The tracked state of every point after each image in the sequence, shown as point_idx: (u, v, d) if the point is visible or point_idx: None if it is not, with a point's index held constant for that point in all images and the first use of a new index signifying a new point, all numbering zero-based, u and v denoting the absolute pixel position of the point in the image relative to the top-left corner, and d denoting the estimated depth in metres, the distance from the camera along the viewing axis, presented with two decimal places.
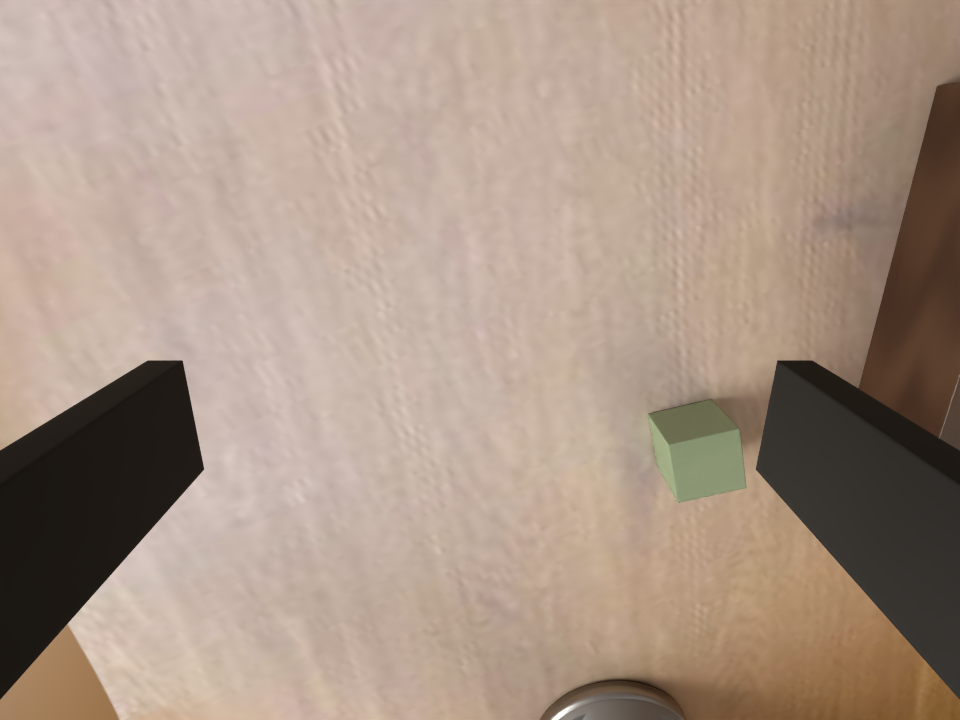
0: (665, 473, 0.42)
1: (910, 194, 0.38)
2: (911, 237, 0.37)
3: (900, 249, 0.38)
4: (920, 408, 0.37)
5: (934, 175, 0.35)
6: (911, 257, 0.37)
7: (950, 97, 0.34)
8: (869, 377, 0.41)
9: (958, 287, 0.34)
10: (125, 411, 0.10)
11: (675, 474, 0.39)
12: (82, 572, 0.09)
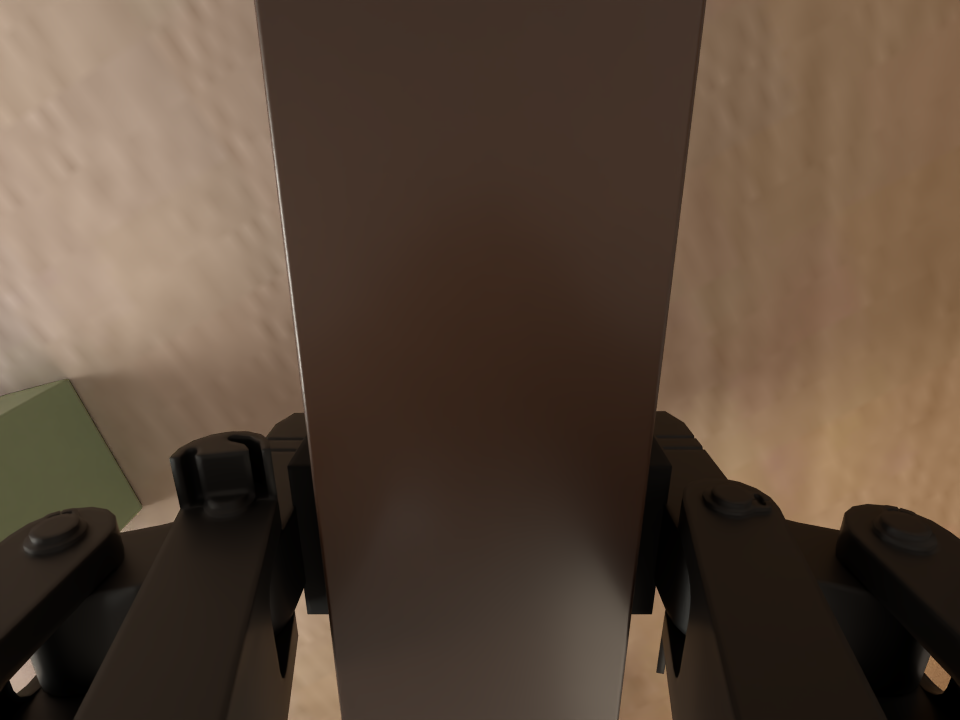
0: None
1: None
2: None
3: None
4: None
5: None
6: None
7: None
8: None
9: None
10: None
11: None
12: None
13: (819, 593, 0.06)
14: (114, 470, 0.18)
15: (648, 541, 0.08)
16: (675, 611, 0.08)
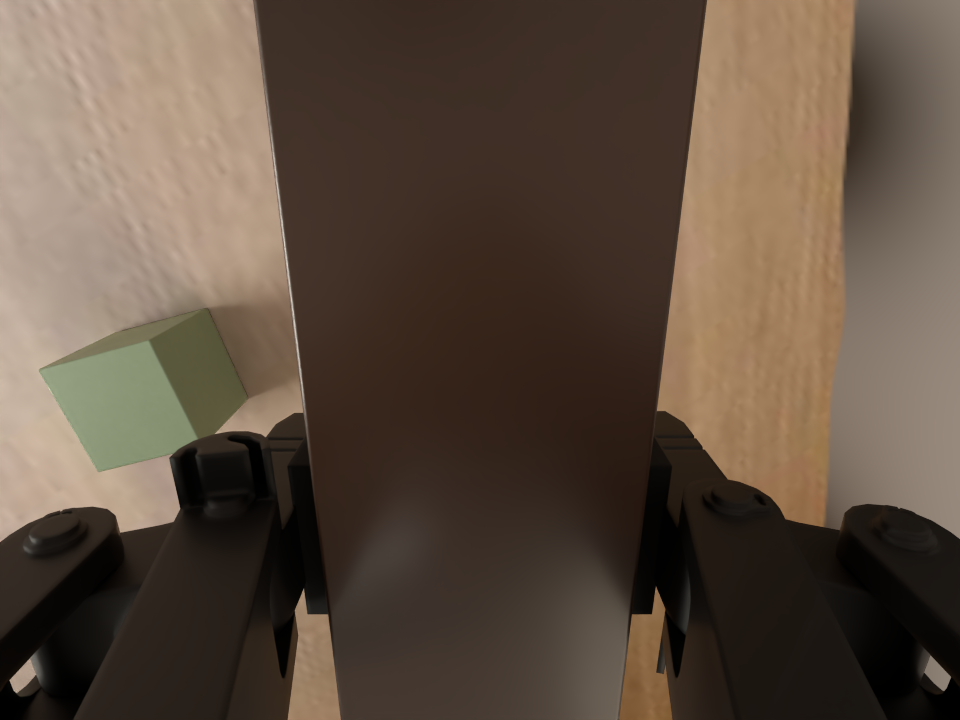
0: None
1: None
2: None
3: None
4: None
5: None
6: None
7: None
8: None
9: None
10: None
11: (72, 423, 0.23)
12: None
13: (819, 595, 0.06)
14: (233, 370, 0.27)
15: (648, 541, 0.08)
16: (675, 611, 0.08)
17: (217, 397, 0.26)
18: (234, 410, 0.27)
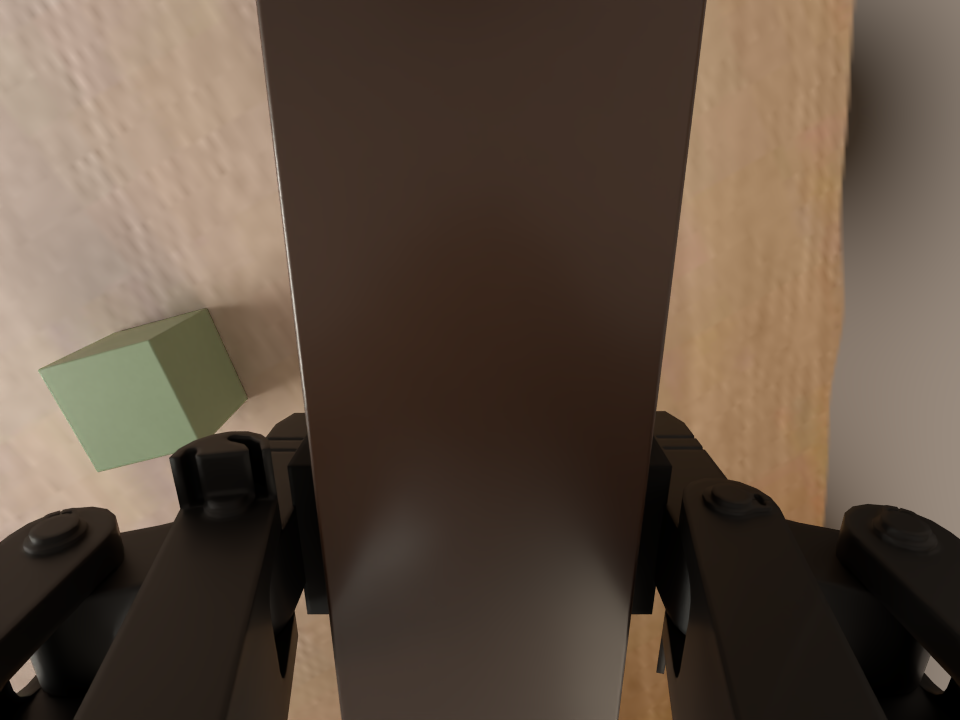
0: None
1: None
2: None
3: None
4: None
5: None
6: None
7: None
8: None
9: None
10: None
11: (71, 423, 0.23)
12: None
13: (819, 594, 0.06)
14: (232, 370, 0.27)
15: (648, 541, 0.08)
16: (675, 611, 0.08)
17: (217, 397, 0.26)
18: (234, 410, 0.27)
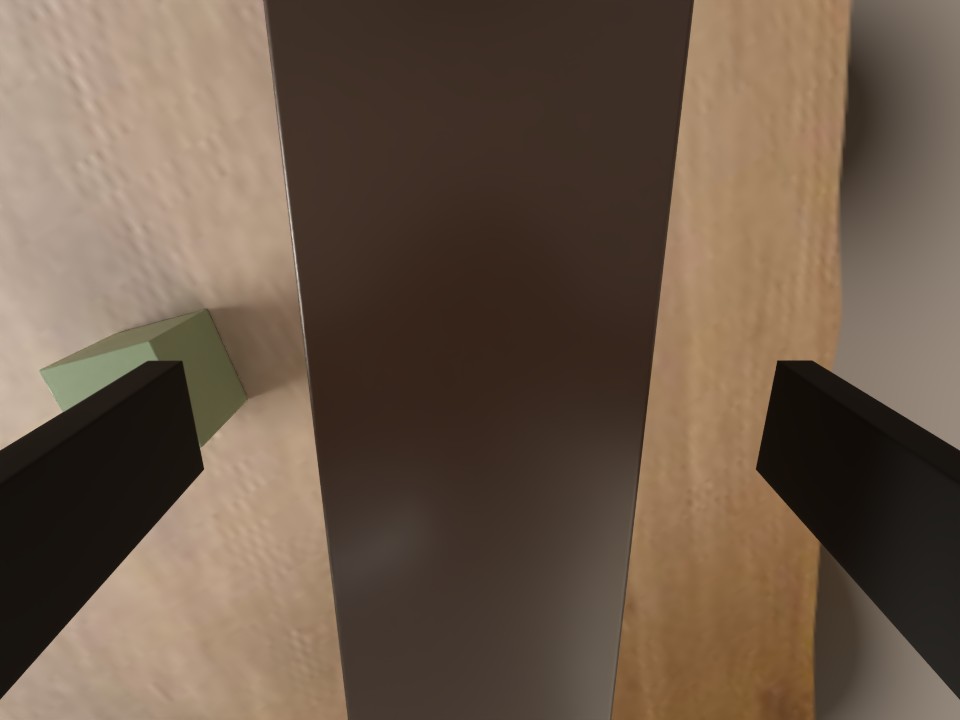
0: None
1: None
2: None
3: None
4: None
5: None
6: None
7: None
8: None
9: None
10: (125, 411, 0.10)
11: None
12: (82, 572, 0.09)
13: None
14: (232, 371, 0.28)
15: None
16: None
17: (217, 398, 0.26)
18: (234, 411, 0.27)
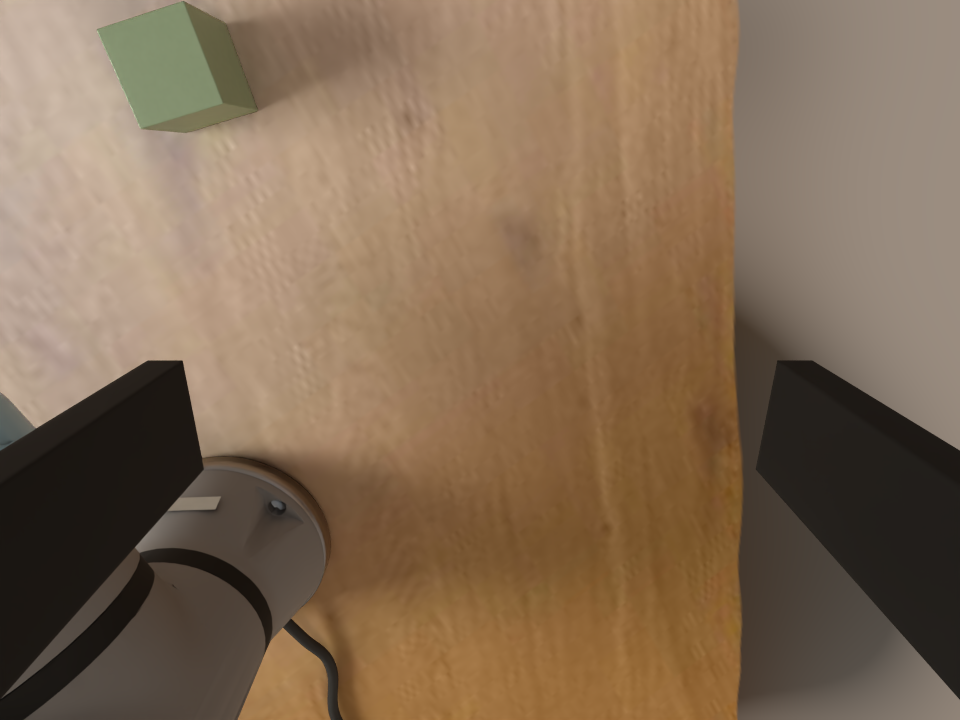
0: None
1: None
2: None
3: None
4: None
5: None
6: None
7: None
8: None
9: None
10: (125, 411, 0.10)
11: (121, 80, 0.30)
12: (82, 572, 0.09)
13: None
14: (245, 81, 0.34)
15: None
16: None
17: (234, 85, 0.32)
18: (247, 106, 0.33)
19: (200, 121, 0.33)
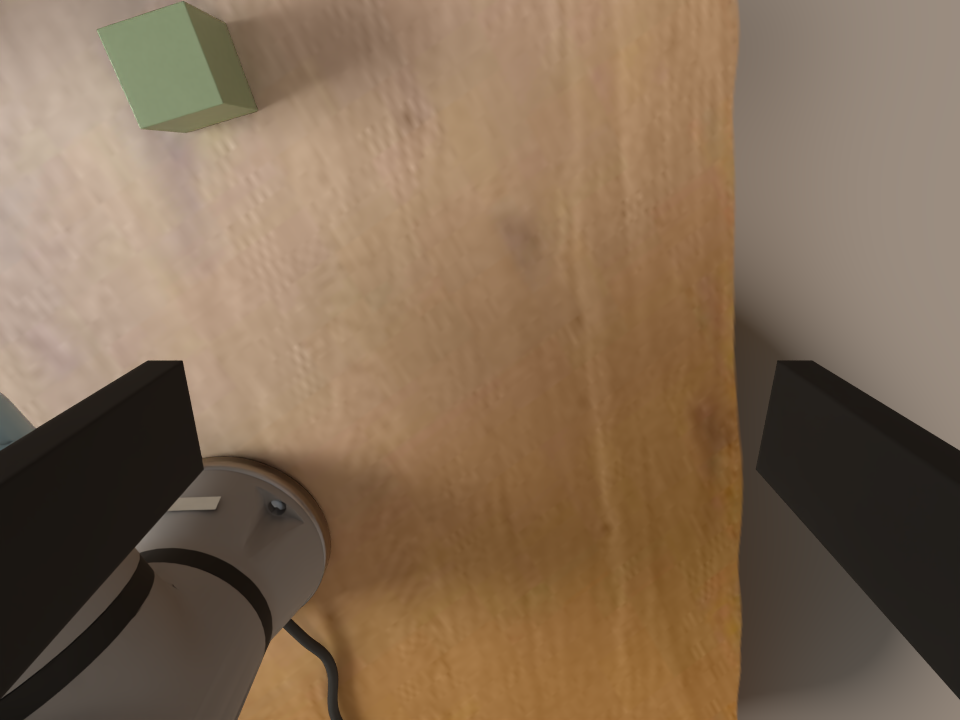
0: None
1: None
2: None
3: None
4: None
5: None
6: None
7: None
8: None
9: None
10: (125, 411, 0.10)
11: (121, 80, 0.30)
12: (82, 572, 0.09)
13: None
14: (245, 81, 0.34)
15: None
16: None
17: (234, 85, 0.32)
18: (247, 106, 0.33)
19: (200, 121, 0.33)
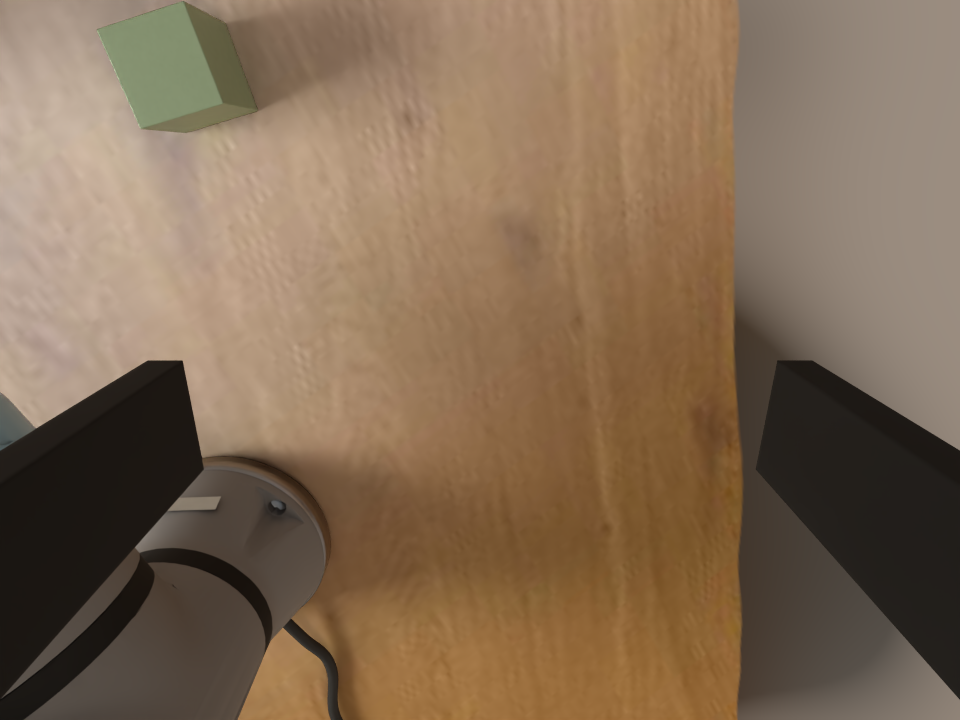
0: None
1: None
2: None
3: None
4: None
5: None
6: None
7: None
8: None
9: None
10: (125, 411, 0.10)
11: (121, 80, 0.30)
12: (82, 572, 0.09)
13: None
14: (245, 81, 0.34)
15: None
16: None
17: (234, 85, 0.32)
18: (247, 106, 0.33)
19: (200, 121, 0.33)
